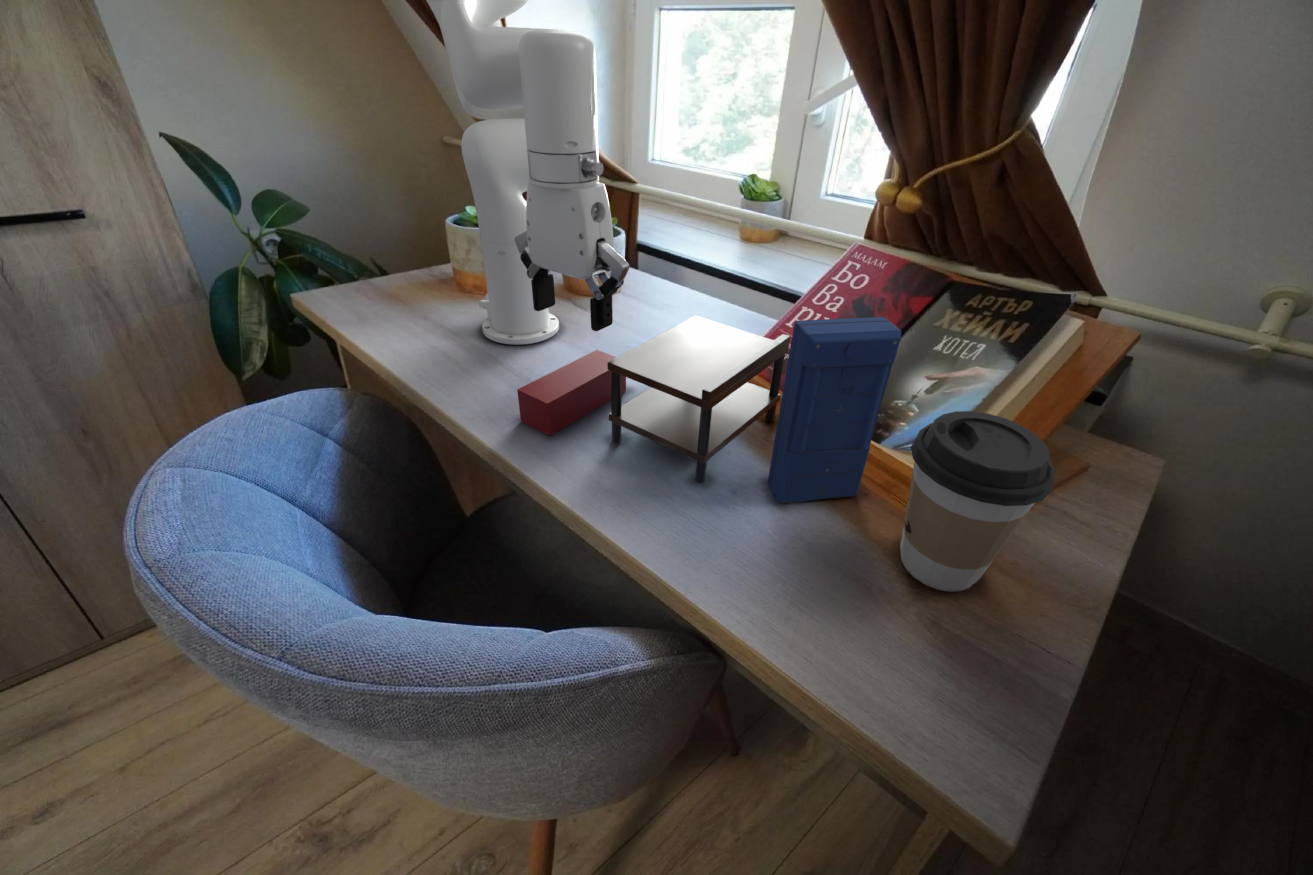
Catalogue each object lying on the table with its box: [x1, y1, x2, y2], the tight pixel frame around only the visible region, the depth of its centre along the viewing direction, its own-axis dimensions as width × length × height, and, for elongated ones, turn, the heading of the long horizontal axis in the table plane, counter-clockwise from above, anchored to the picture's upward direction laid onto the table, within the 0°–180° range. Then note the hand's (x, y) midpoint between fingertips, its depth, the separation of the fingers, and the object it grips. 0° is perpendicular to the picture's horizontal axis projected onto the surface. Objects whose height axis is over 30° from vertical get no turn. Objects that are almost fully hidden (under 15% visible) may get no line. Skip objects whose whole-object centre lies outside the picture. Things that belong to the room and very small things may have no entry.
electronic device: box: [767, 316, 902, 503], centre depth 63 cm, size 10×5×20 cm, turn 100°
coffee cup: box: [899, 410, 1056, 593], centre depth 55 cm, size 11×11×15 cm
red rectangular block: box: [516, 349, 627, 437], centre depth 81 cm, size 5×15×5 cm, turn 143°
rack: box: [608, 315, 791, 484], centre depth 75 cm, size 14×18×12 cm
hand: (572, 317), depth 75 cm, fingers open, 9 cm apart
